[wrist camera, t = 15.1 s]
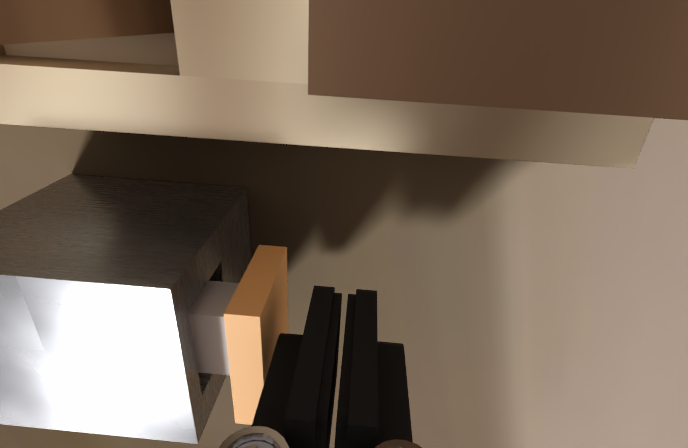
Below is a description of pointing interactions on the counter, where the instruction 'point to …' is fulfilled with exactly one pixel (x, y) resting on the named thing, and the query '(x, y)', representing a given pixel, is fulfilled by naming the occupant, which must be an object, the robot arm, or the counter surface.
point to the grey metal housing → (113, 303)
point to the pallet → (273, 94)
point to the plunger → (243, 327)
